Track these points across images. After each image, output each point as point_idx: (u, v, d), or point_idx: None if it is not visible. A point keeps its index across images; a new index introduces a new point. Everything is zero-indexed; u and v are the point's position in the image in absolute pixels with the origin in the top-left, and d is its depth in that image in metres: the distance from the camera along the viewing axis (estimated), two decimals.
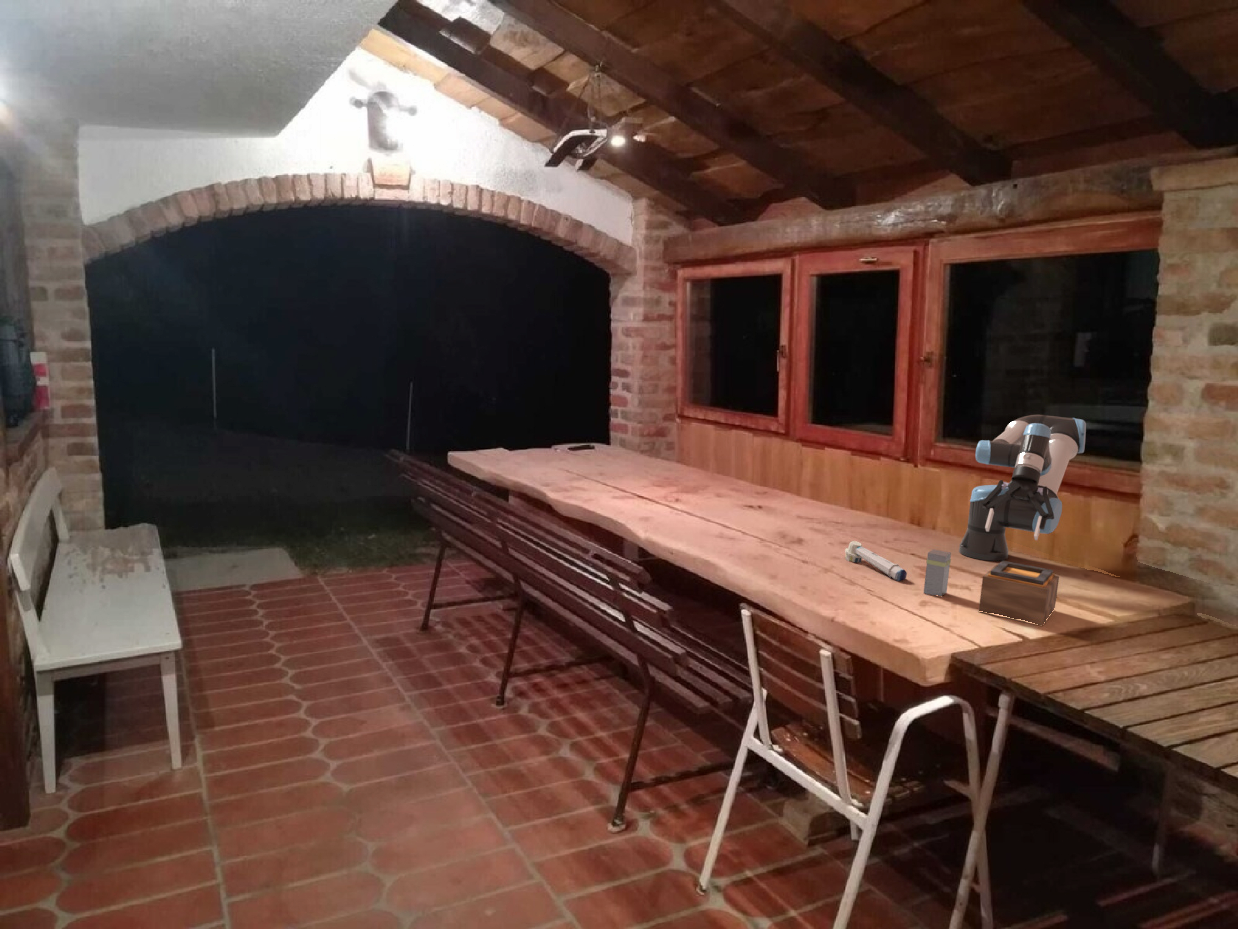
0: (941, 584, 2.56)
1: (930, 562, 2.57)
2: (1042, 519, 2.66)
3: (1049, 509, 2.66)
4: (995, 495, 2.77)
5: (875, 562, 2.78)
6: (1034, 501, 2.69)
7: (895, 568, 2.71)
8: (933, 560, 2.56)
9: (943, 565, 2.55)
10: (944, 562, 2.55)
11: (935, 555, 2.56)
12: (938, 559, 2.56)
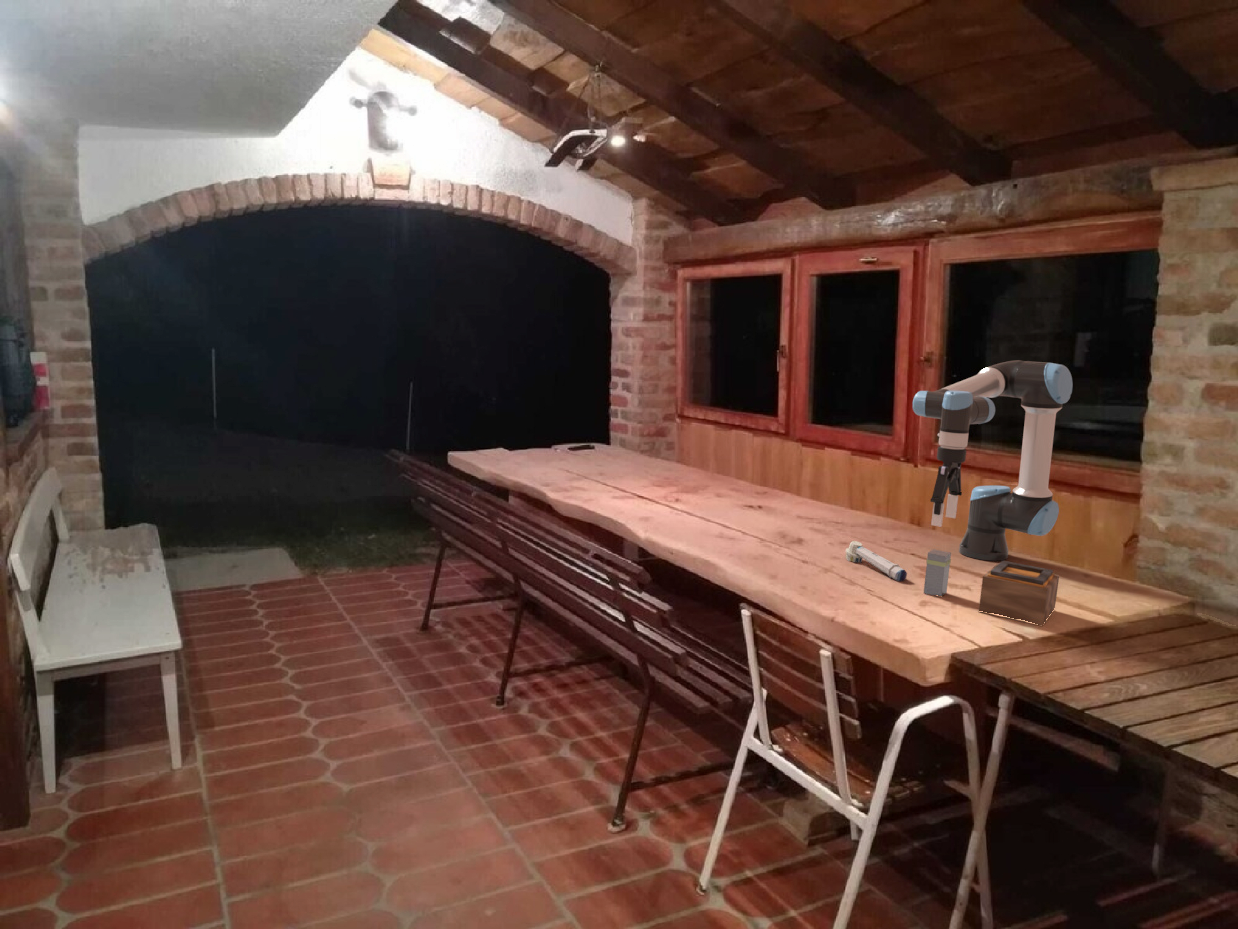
0: (941, 584, 2.56)
1: (930, 562, 2.57)
2: None
3: None
4: None
5: (875, 562, 2.78)
6: None
7: (895, 568, 2.71)
8: (933, 560, 2.56)
9: (943, 565, 2.55)
10: (944, 562, 2.55)
11: (935, 555, 2.56)
12: (938, 559, 2.56)
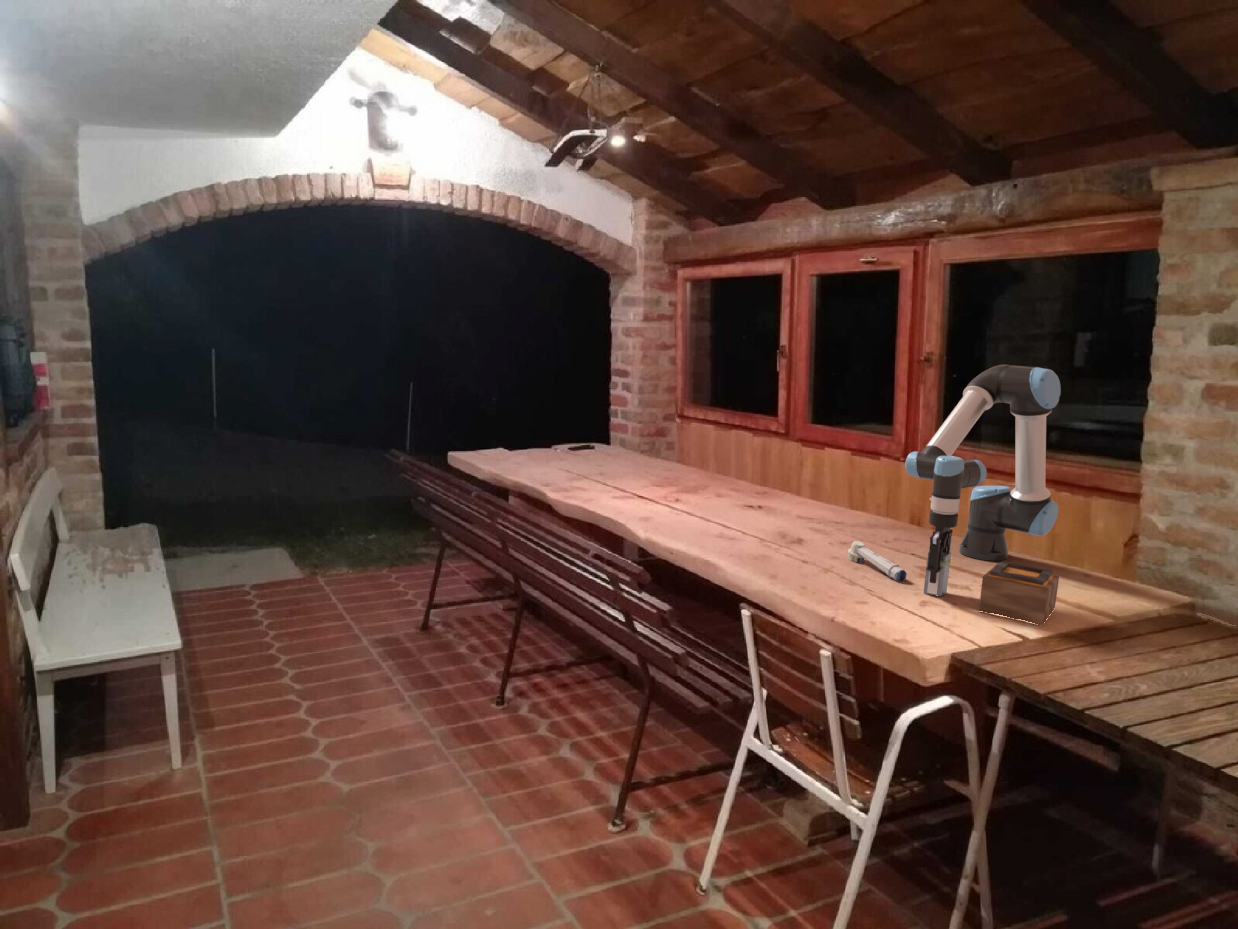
0: (941, 584, 2.56)
1: None
2: None
3: None
4: None
5: (876, 562, 2.78)
6: None
7: (895, 568, 2.70)
8: None
9: (943, 565, 2.55)
10: (944, 562, 2.55)
11: None
12: None
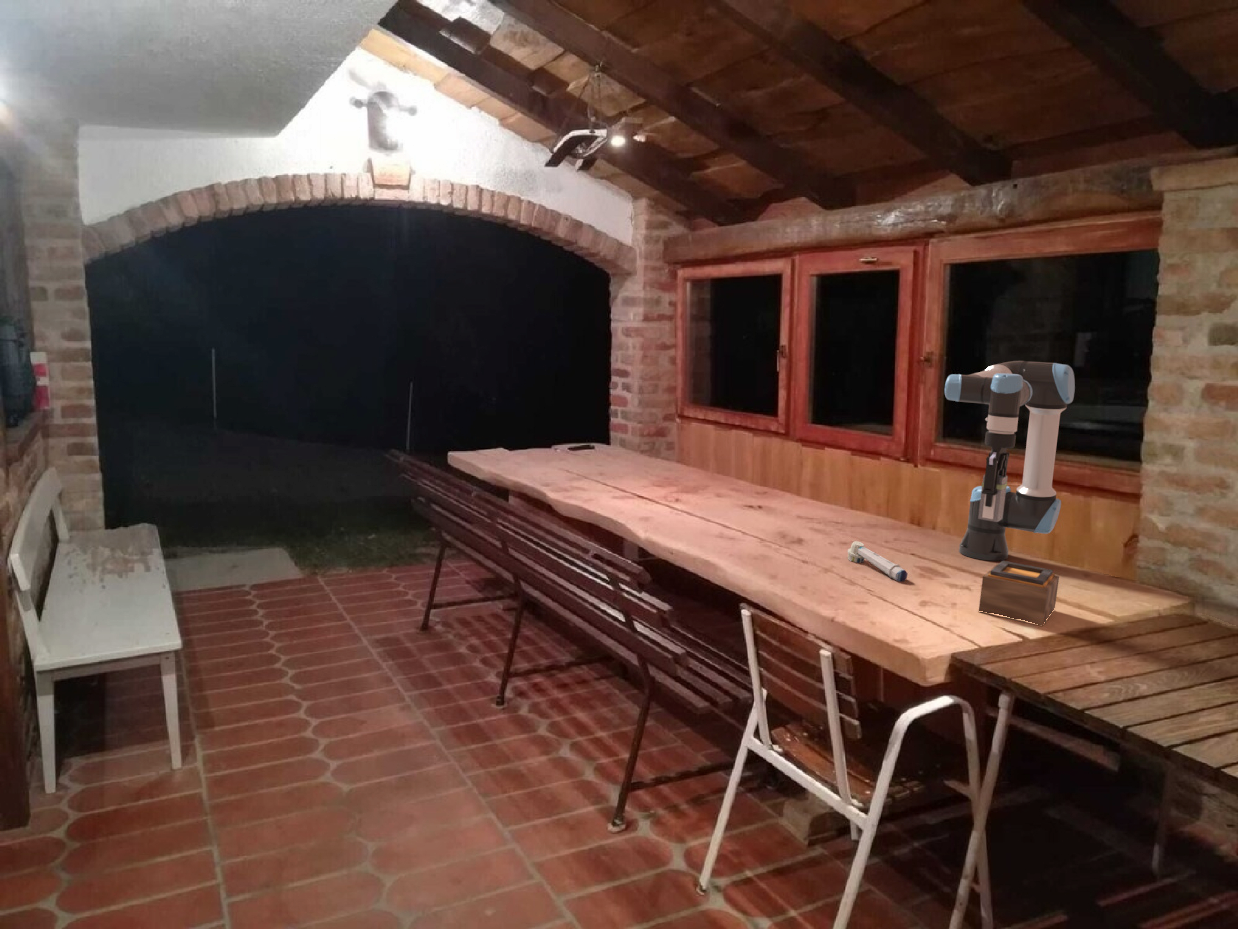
0: (997, 508, 2.44)
1: None
2: None
3: None
4: None
5: (876, 562, 2.77)
6: None
7: (896, 568, 2.70)
8: None
9: (999, 488, 2.43)
10: (1001, 484, 2.43)
11: None
12: None
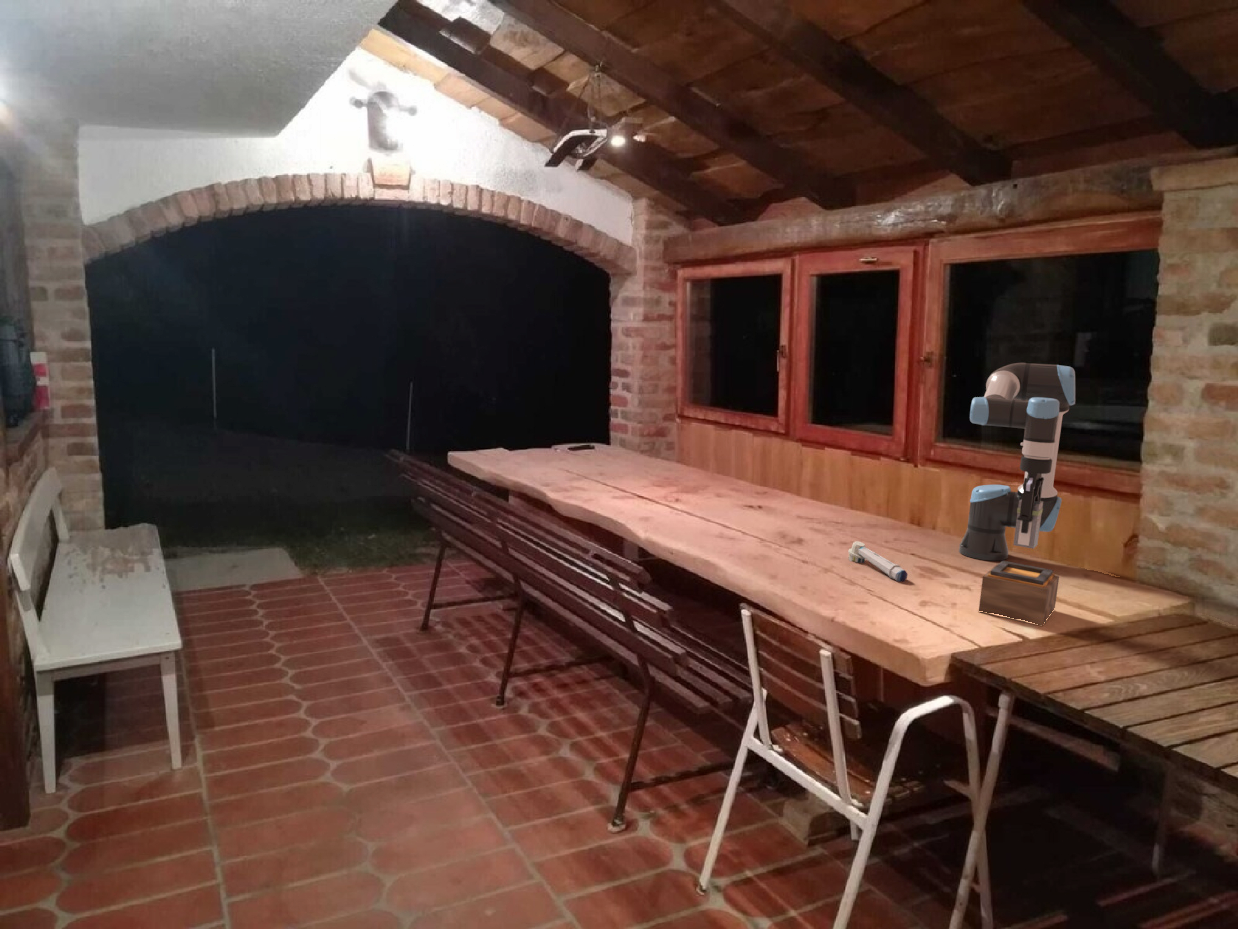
0: (1033, 534, 2.40)
1: None
2: None
3: None
4: None
5: (876, 562, 2.77)
6: None
7: (896, 569, 2.70)
8: None
9: (1036, 514, 2.39)
10: (1037, 511, 2.39)
11: None
12: None
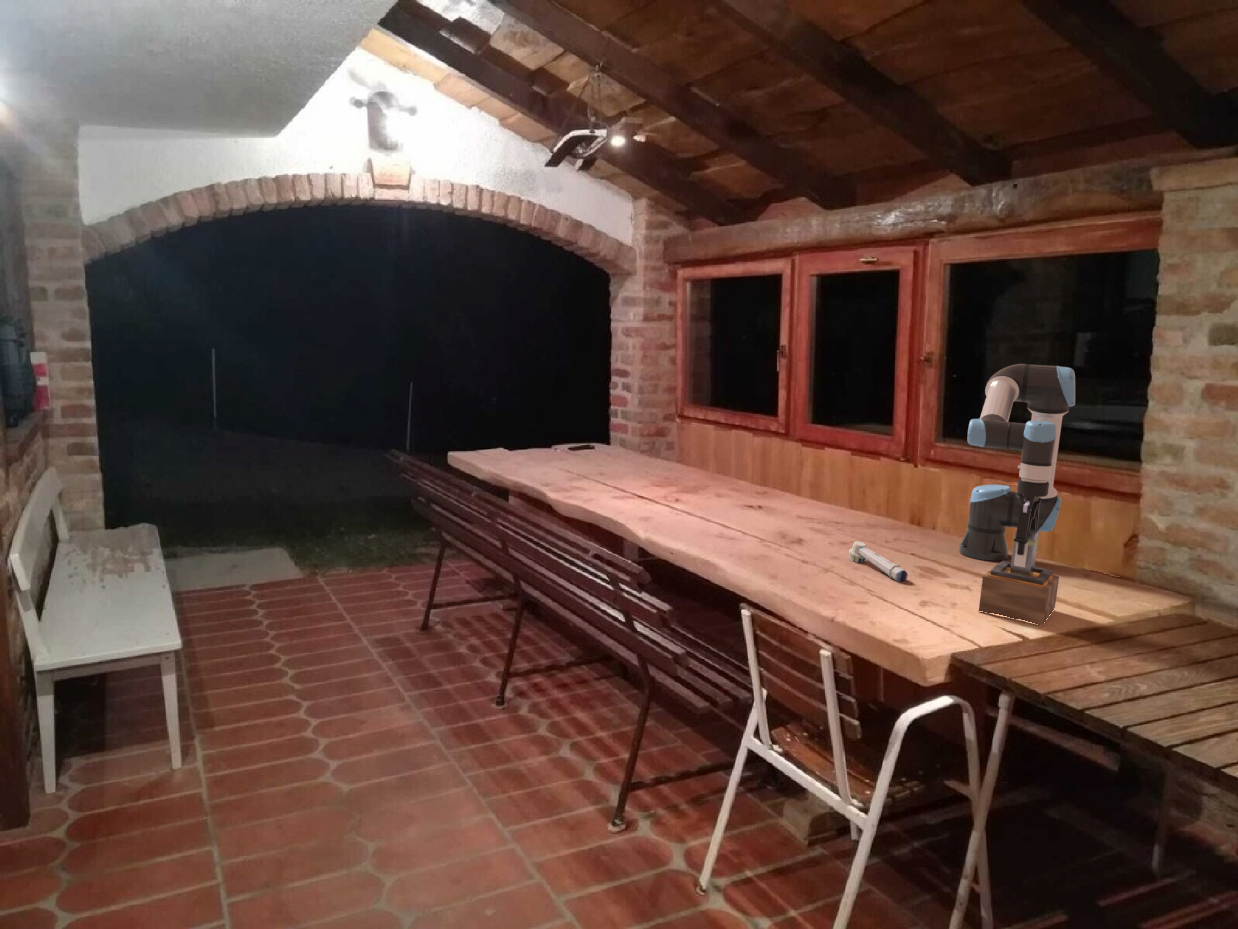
0: (1029, 564, 2.42)
1: None
2: None
3: (1017, 532, 2.38)
4: None
5: (877, 562, 2.77)
6: None
7: (896, 569, 2.70)
8: None
9: (1032, 544, 2.41)
10: (1033, 540, 2.40)
11: None
12: None
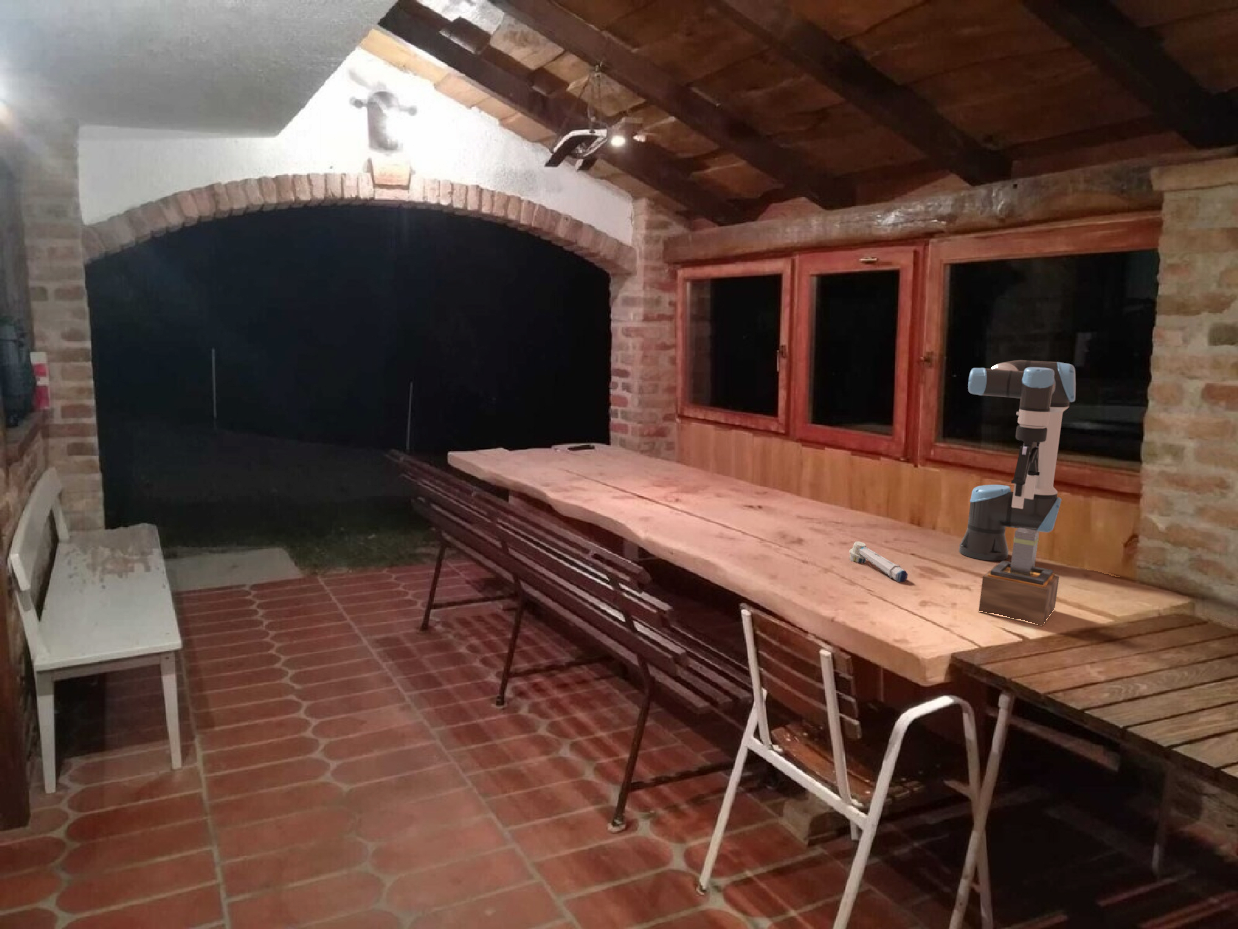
0: (1029, 564, 2.42)
1: (1017, 541, 2.43)
2: None
3: None
4: None
5: (877, 562, 2.77)
6: None
7: (896, 569, 2.70)
8: (1021, 538, 2.42)
9: (1032, 544, 2.41)
10: (1033, 540, 2.40)
11: (1023, 533, 2.42)
12: (1026, 537, 2.41)
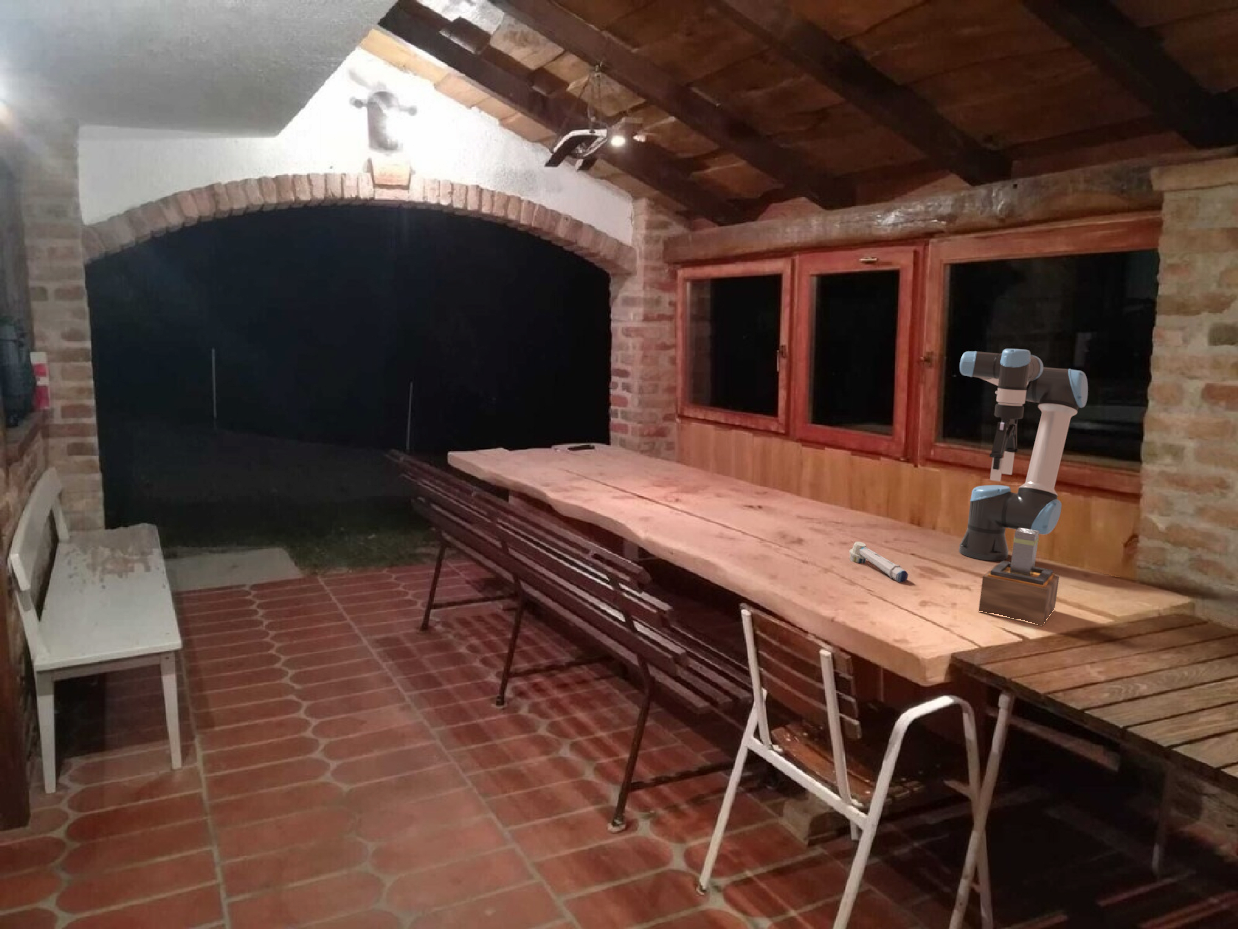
0: (1029, 564, 2.42)
1: (1017, 541, 2.43)
2: None
3: None
4: None
5: (877, 562, 2.77)
6: None
7: (896, 569, 2.70)
8: (1021, 538, 2.42)
9: (1032, 544, 2.41)
10: (1033, 540, 2.40)
11: (1023, 533, 2.42)
12: (1026, 537, 2.41)
